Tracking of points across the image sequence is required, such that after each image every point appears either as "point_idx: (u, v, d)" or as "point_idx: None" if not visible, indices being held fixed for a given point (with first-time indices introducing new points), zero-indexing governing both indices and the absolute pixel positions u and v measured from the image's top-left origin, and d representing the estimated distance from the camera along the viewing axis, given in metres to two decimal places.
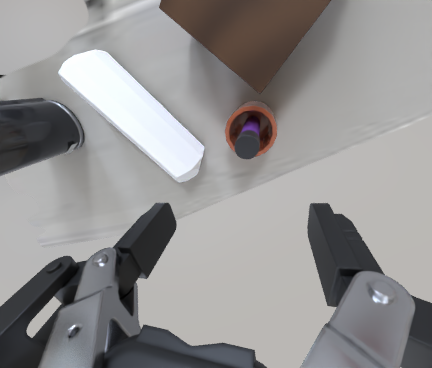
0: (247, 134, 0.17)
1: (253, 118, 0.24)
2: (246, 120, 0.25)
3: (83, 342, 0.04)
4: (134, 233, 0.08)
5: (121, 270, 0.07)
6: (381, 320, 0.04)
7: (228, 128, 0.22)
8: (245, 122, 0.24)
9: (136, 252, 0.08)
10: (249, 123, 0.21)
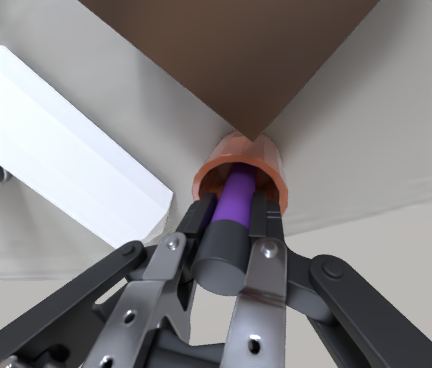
0: (220, 251, 0.07)
1: None
2: (234, 162, 0.15)
3: (132, 337, 0.04)
4: (195, 219, 0.09)
5: (190, 254, 0.08)
6: (259, 265, 0.06)
7: (197, 188, 0.12)
8: (231, 169, 0.14)
9: (200, 237, 0.08)
10: (235, 181, 0.11)
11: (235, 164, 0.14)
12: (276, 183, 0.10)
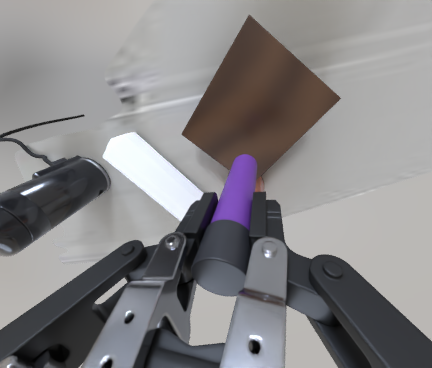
0: (220, 251, 0.07)
1: (245, 162, 0.14)
2: (234, 163, 0.15)
3: (132, 337, 0.04)
4: (195, 219, 0.09)
5: (190, 254, 0.08)
6: (259, 265, 0.06)
7: None
8: (231, 169, 0.14)
9: (200, 237, 0.08)
10: (235, 181, 0.11)
11: (235, 164, 0.14)
12: None
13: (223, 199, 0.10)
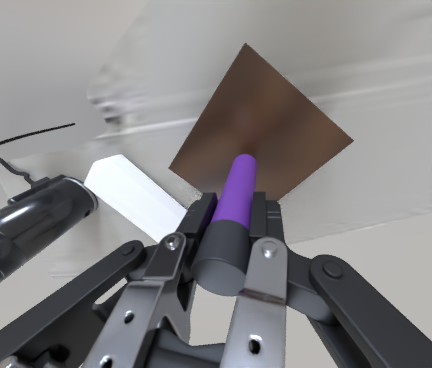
0: (220, 251, 0.07)
1: (245, 162, 0.14)
2: (234, 163, 0.15)
3: (132, 337, 0.04)
4: (195, 219, 0.09)
5: (190, 254, 0.08)
6: (260, 265, 0.06)
7: None
8: (231, 169, 0.14)
9: (200, 237, 0.08)
10: (235, 181, 0.11)
11: (235, 164, 0.14)
12: None
13: (223, 199, 0.10)
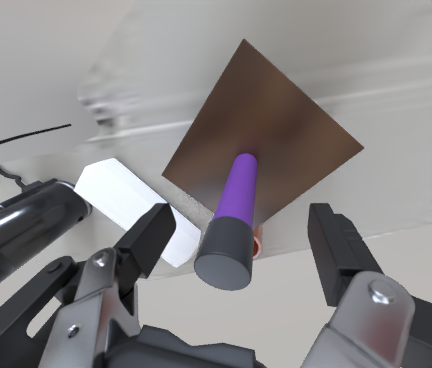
0: (222, 246, 0.07)
1: (246, 161, 0.14)
2: (234, 162, 0.15)
3: (83, 342, 0.04)
4: (134, 233, 0.08)
5: (121, 270, 0.07)
6: (381, 320, 0.04)
7: None
8: (232, 168, 0.14)
9: (136, 252, 0.08)
10: (236, 180, 0.12)
11: (236, 163, 0.14)
12: (256, 241, 0.24)
13: (224, 197, 0.10)
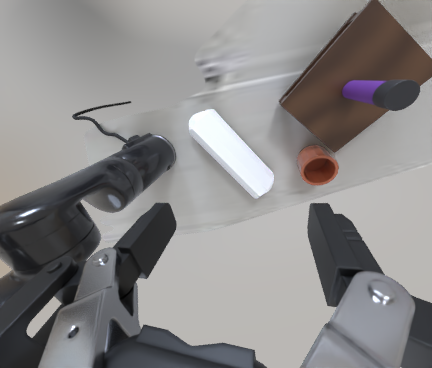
0: None
1: (361, 80, 0.22)
2: (350, 83, 0.23)
3: (83, 342, 0.04)
4: (134, 233, 0.08)
5: (121, 270, 0.07)
6: (381, 320, 0.04)
7: (304, 167, 0.33)
8: (353, 84, 0.22)
9: (136, 252, 0.08)
10: None
11: (354, 82, 0.22)
12: (335, 165, 0.32)
13: (373, 83, 0.18)
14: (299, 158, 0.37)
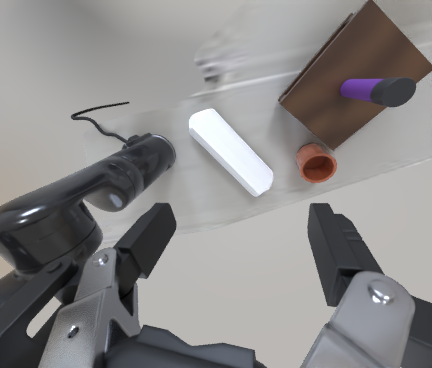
0: (402, 77, 0.15)
1: (358, 79, 0.23)
2: (347, 82, 0.24)
3: (83, 342, 0.04)
4: (134, 233, 0.08)
5: (121, 270, 0.07)
6: (381, 320, 0.04)
7: (303, 165, 0.34)
8: (351, 82, 0.23)
9: (136, 252, 0.08)
10: (368, 79, 0.20)
11: (352, 80, 0.23)
12: (333, 162, 0.32)
13: (371, 81, 0.19)
14: (298, 156, 0.37)
